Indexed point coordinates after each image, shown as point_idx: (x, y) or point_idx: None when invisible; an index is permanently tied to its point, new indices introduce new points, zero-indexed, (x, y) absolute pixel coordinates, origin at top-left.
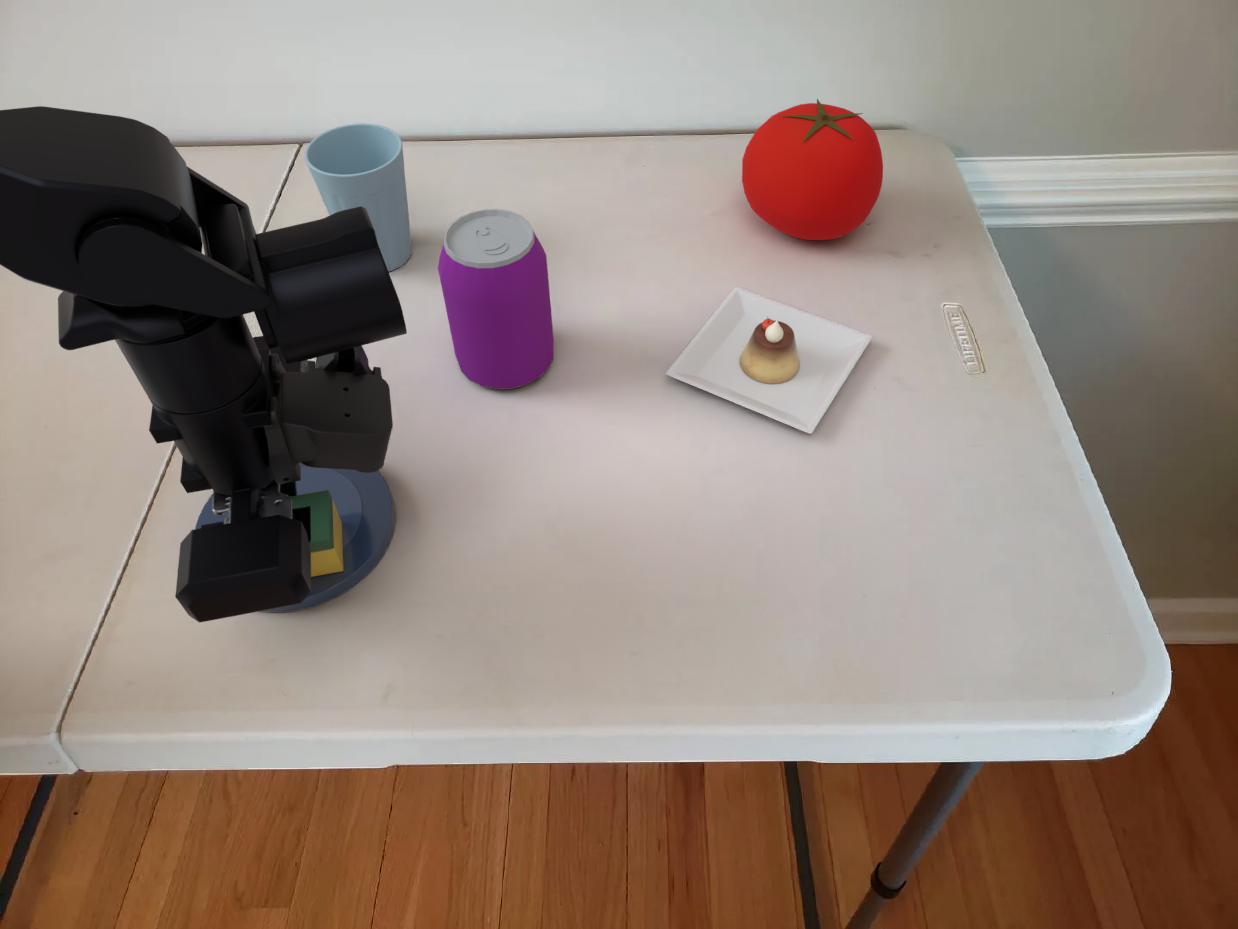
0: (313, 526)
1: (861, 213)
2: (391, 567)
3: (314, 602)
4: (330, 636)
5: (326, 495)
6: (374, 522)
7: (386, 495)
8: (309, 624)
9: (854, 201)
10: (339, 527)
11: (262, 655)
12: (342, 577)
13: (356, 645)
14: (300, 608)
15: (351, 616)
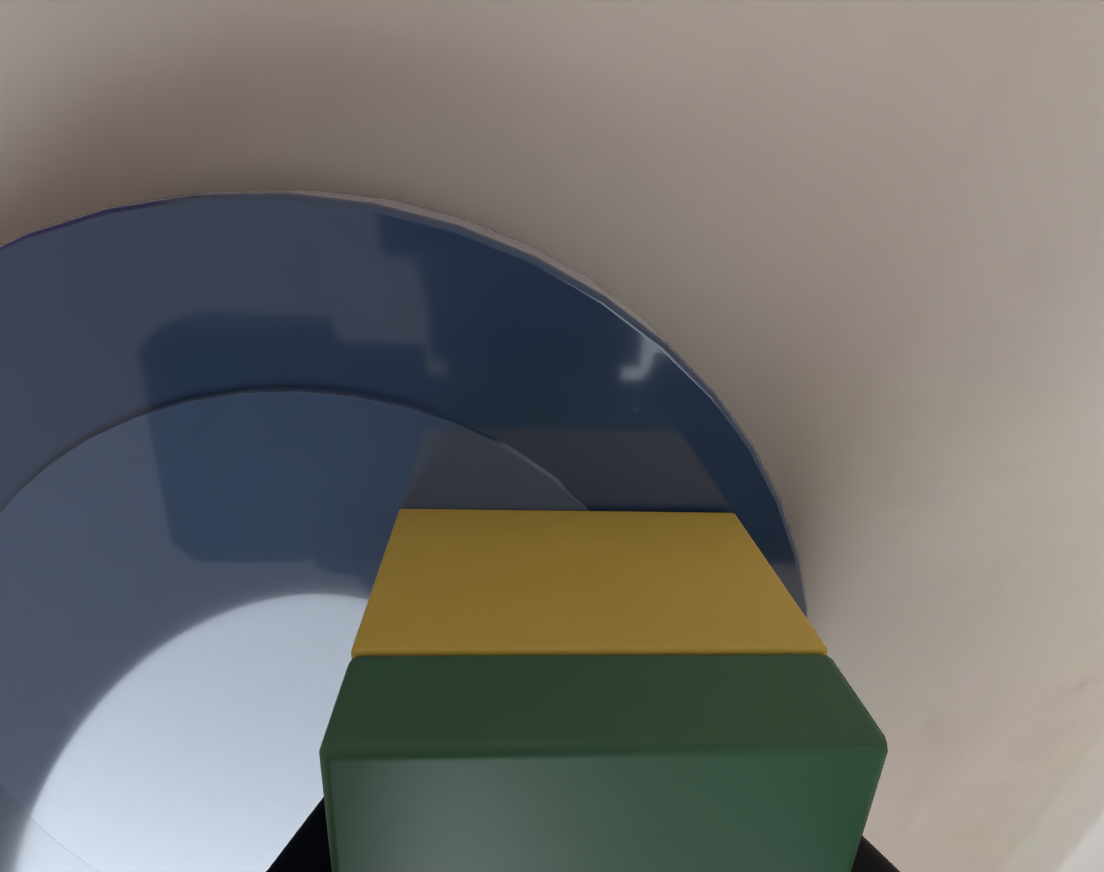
0: (707, 848)
1: None
2: (691, 258)
3: None
4: (936, 545)
5: (385, 766)
6: (438, 326)
7: (220, 226)
8: (844, 615)
9: None
10: (487, 542)
11: (895, 750)
12: (767, 517)
13: (1031, 452)
14: None
15: (884, 464)
